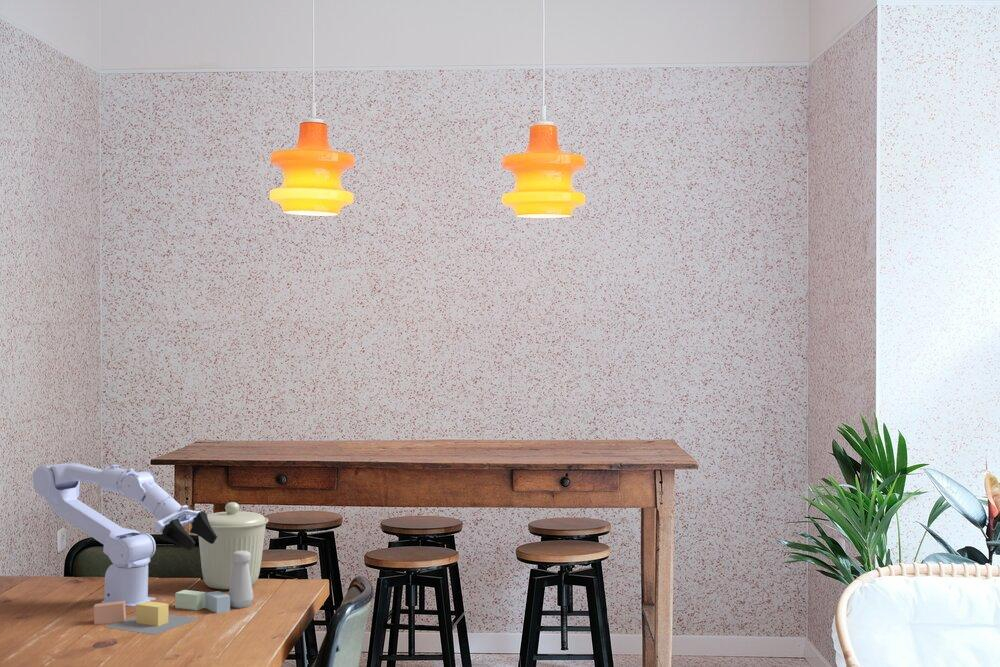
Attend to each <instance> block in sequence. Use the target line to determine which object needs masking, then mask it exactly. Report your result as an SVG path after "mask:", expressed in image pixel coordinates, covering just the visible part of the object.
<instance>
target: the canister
mask: <svg viewBox="0 0 1000 667" xmlns="http://www.w3.org/2000/svg"><path fill="white" fill-rule="evenodd" d="M224 509H225V511H219V512H213V513H212V512H211V513H206V514H207V518H208V521H209V524H210V526H211V527H212V529H213V531H214V532H215V534H216V536H217V538H216V540H215V542H214V543H213V544H211V543H209V542H207V541H206V540H204V539H203V538H202V537H200V536H198V535H197V536H198V543H199V544H198V545H199V556H200V564H201V573H202V574H201V575H202V578H203V582H204V583H205V585H206V586H207V587H209V588H211V589H215V590H223V591H224V590H229V589H230V584H231V579H232V573H233V568H234V563H235V562H233V561H232V554H233V553H234V552H236V551H248V552H250V554H251V560H250V561H249V562H248V564H249V571H250V577H251V584H252V586H253V585H254V584H255V583H257V581H258V579H259V576H260V572H261V565H262V559H263V558H262V557H263V553H264V552H263V551H264V542H265V534H266V525H267V524H268V523H269V518H268V517H265V516H264V515H263V514H262V513H261V514H260V513H259V512H253V511H243V510H242V511H240V505H239V503H237V502H234V501H230V502H227V503H226V504H225V506H224Z"/></svg>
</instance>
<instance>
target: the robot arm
mask: <svg viewBox="0 0 1000 667" xmlns="http://www.w3.org/2000/svg"><path fill="white" fill-rule="evenodd" d="M81 482H86V483H93V484H98V485H99V487H100V489H102V490H104V491H108V492H113V493H117V494H122V495H123V497H124V498H125V499H128V500H131V499H133V500H134V501H135V502H137V503H139V504H140V505H141V506H143V508H145V509H146V510H147V511H148V512H149V513H150V514H151V515H152V516H153V517H154V518H155V519H157V520H156V522H155V523H154V526H153V528H152V529H153V530H154V531H155V532H157V533H158V534H160V533H162V534H161V535H160V539H161V540H162V541H165V542H169V543H172V544H175V545H178V546H180V547H182V548H184V549H185V550H188V551H191V550H193V548H194V546H195V545H196V541H195V540H194V539H193V538H192V536H191V535H190V534H189V533H191V534H194V535H196V536H200V537H202V538H203V539H204V540H206V541H207V542H209V543H211V544H213V543H214V542H215V540H216V538H217V536H216V534H215V532H214V531H213V529H212V527H211V526H210V524H209V521H208V518H207V514H208V513H206V512H205V511H200V510H197V511H196V510H192V509H189V505H187V504H184V505H181V504H180V503H179V502H178V501H177V500H176V499H174V497H172V496H171V495H170V494H169V493H168V492H167V491H166V490H164V489H163V488H162V487H161V486H160V485H159V484H158V483H157V478H156V476H155V474H153V473H152V472H151V471H148V470H146V469H144V470H141V471H139V472H138V471H135V469H134V468H127V469H126V468H120V466H119V465H118V464H111V465H110V466H107V467H104V469H100V468H97V467H95V466H89V465H86V464H82V463H79V462H71V461H70V462H64V463H60V464H58V463H57V464H50V465H39V466H38V467H37V468H35V470H34V472H33V474H32V485H33V491H34V493H37V495H40V496H41V497H43V498H44V500H45V501H46V503H47V504H48V505H49V508H51V510H52V511H53V513H54V514H56V515H57V516H59V518H61V519H63V520H65V521H66V522H68V523H70V524H71V525H73V526H74V527H76V528H78V530H80V531H81V532H83V533H84V534H87V535H88V536H90V537H91V538H93V539H94V540H96V541H97V542H99V543H100V544H102V545H103V548H102V549H103V550H102V552H103V553H104V554H105V555H106V556H108V558H109V560H110V561H111V563H112V564H110V565H109V566H108V567H107V569H106V571H105V573H104V596H103V597H104V600H102V601H101V603H108V602H116V601H125V607H127V606H128V607H134V606H136V604H139V603H142V602H145V601H151V602H152V601H154V600H156V599H157V598H156V597H152V596H151V597H150V596H149V595H148V594H149V563H151V558H153V556H154V555H155V553H156V551H157V550H156V548H157V547H156V546H157V544H156V540H155V539H154V537H153V536H152V534H149V533H147V532H140V531H138V530H135V529H130V528H124V527H122V526H120V525H119V524H117V523H116V522H114V521H112V520H111V519H109V518H108V517H106V516H104V515H103V514H101V513H100V512H98V511H96V509H93V508H92V507H90V506H89V505H87V504H85V503H84V502H82V501H81V500H79V499H78V498H79V497H80V485H81ZM188 524H191V528H190V531H189V533H188V532H187V531H186V530H185V528H184V526H187V525H188Z"/></svg>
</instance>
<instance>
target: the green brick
mask: <svg viewBox="0 0 1000 667" xmlns="http://www.w3.org/2000/svg"><path fill="white" fill-rule="evenodd" d="M205 593H207V592H206V591H199V590H198V591H197V590H189V589H182V590H180V591H177V592H175V593H174V594H175V596H174V597H175V598H174V602H175V603H174V608H175V609H183V610H191V611H192V610H193V611H199V610H201V609H204V608H205Z"/></svg>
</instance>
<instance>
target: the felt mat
mask: <svg viewBox="0 0 1000 667" xmlns="http://www.w3.org/2000/svg"><path fill="white" fill-rule="evenodd" d="M197 620H200V618H198V617H192V616H185V615H178V614H172V613H171V614H169V613H168V623H165V624H162V625H160V626H154V625H147V624H140V623H136V616H133V617H130V618H126V620H125V621H124V622H119V623H110V624H108V625H105V626H103V628H104V629H105V628H107V629H112V630H113V629H114V630H120V631H126V632H131V633H132V632H134V633H140V634H147V635H153V636H155V635H158V634H162V633H164V632H167V631H169V630H172V629H175V628H178V627H182V626H183V625H186V624H189V623H193V622H195V621H197Z"/></svg>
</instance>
